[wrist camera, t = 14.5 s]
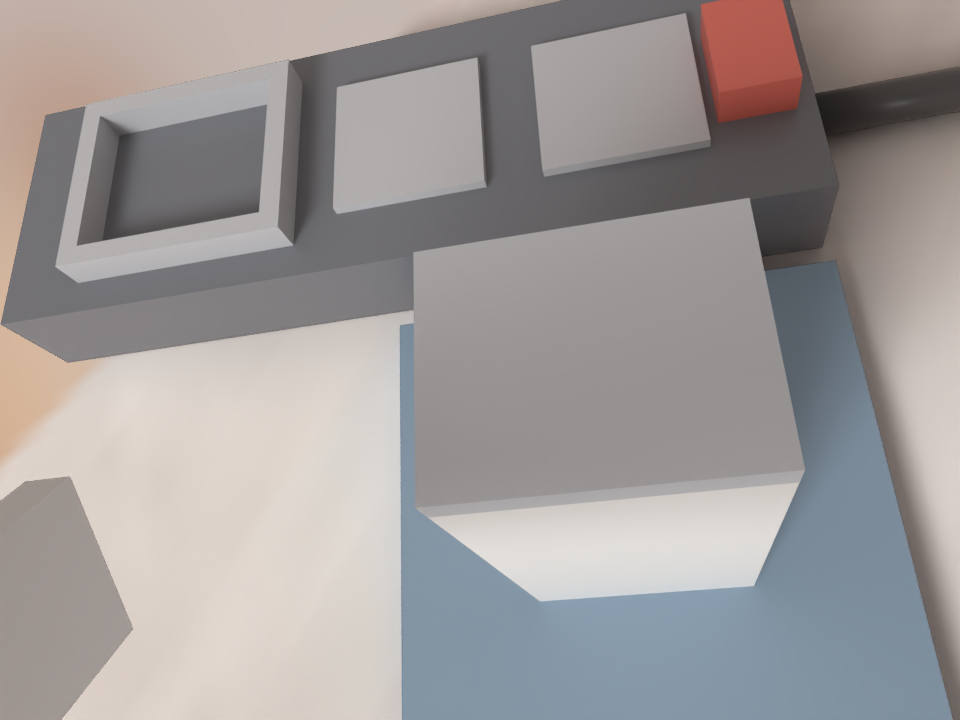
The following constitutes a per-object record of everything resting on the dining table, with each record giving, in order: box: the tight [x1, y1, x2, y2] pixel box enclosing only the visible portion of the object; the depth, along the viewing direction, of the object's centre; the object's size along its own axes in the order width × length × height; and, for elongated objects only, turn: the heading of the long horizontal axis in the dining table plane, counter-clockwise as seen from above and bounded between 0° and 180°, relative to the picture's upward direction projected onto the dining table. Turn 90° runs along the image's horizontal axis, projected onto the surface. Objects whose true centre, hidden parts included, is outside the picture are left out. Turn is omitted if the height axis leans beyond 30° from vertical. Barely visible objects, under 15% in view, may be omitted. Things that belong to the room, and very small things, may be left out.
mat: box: [400, 260, 953, 720], centre depth 21 cm, size 12×12×1 cm
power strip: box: [1, 0, 960, 363], centre depth 24 cm, size 33×8×4 cm, turn 93°
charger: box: [413, 198, 805, 601], centre depth 16 cm, size 5×4×10 cm
